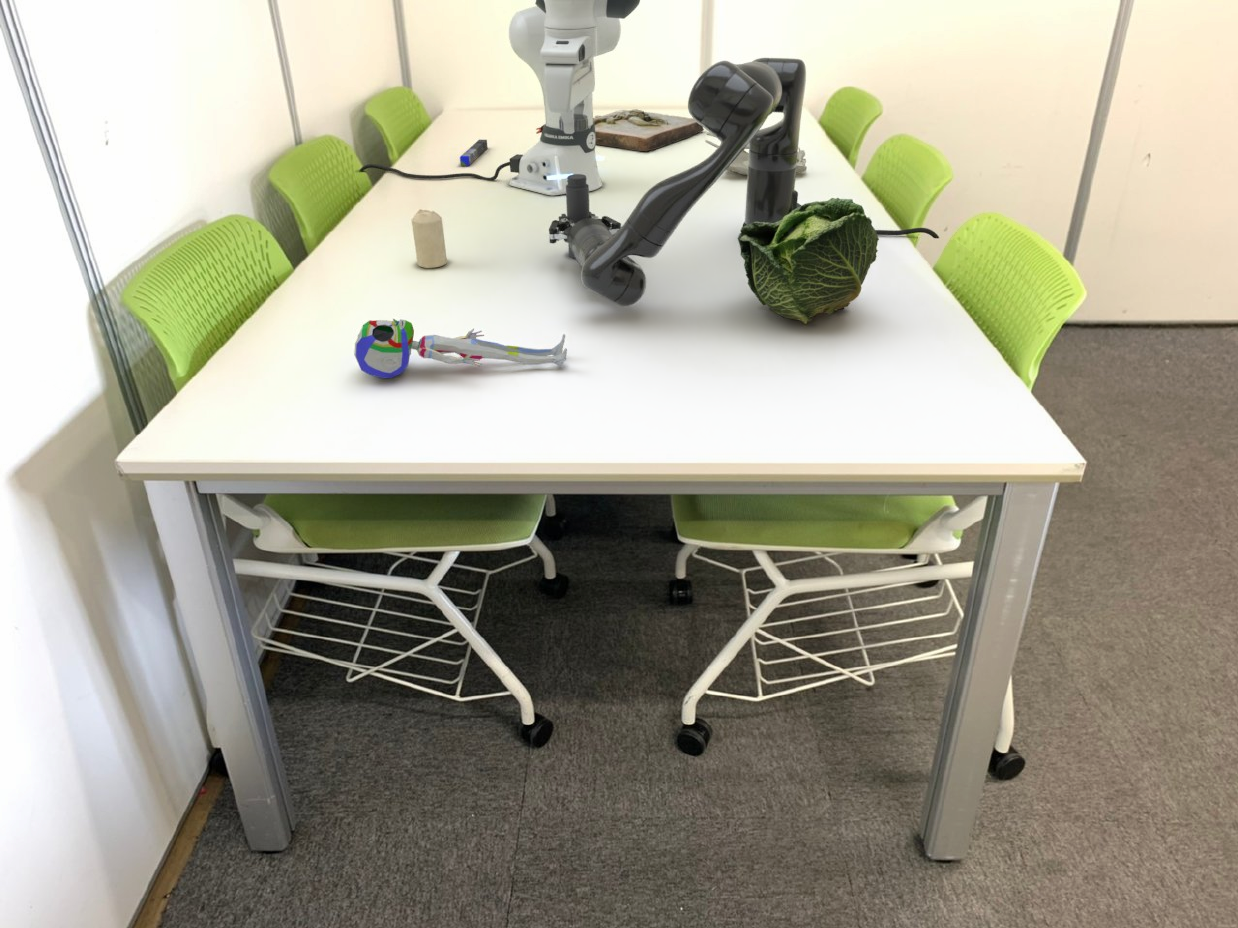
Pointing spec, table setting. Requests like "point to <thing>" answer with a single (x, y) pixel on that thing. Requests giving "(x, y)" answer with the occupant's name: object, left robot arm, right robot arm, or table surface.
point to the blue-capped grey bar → (473, 152)
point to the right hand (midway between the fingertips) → (575, 218)
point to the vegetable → (810, 258)
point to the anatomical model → (742, 159)
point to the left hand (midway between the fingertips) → (574, 129)
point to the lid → (576, 122)
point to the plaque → (642, 129)
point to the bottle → (577, 200)
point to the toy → (435, 349)
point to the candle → (429, 239)
